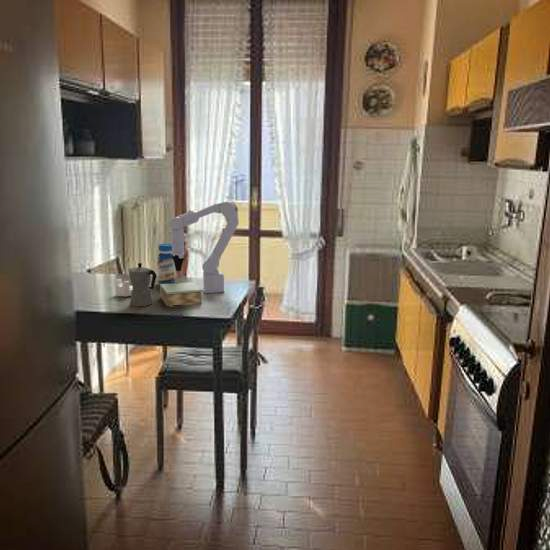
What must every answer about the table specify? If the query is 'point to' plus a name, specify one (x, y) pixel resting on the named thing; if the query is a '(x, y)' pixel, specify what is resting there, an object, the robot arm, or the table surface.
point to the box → (181, 298)
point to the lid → (180, 288)
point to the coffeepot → (141, 285)
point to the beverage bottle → (165, 264)
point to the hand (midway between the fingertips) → (178, 270)
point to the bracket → (123, 288)
